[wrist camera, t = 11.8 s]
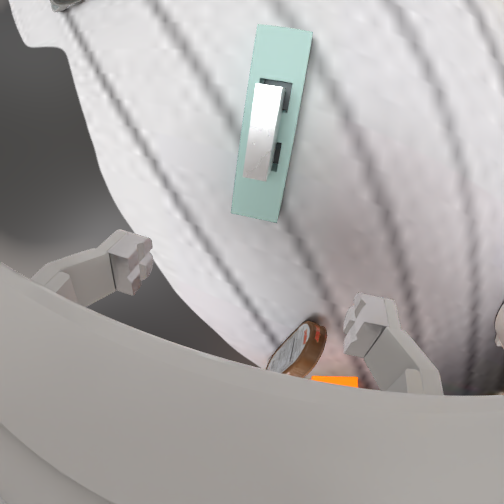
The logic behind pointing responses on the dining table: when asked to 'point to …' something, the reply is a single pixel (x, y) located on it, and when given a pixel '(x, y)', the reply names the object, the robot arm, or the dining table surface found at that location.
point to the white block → (263, 131)
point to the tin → (299, 351)
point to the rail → (290, 71)
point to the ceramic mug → (61, 4)
